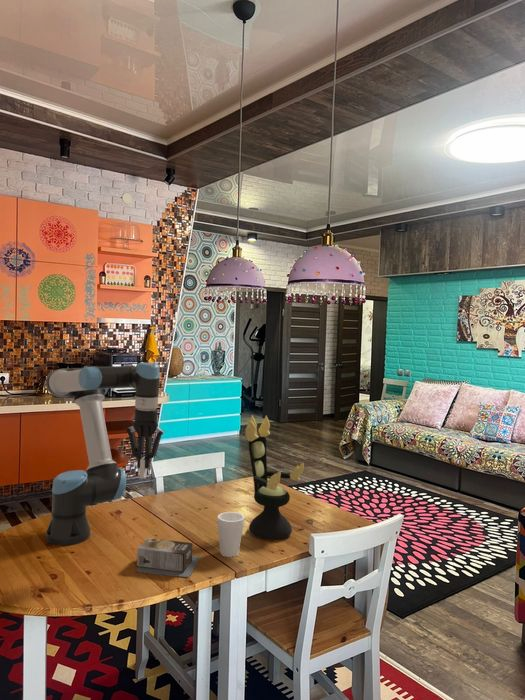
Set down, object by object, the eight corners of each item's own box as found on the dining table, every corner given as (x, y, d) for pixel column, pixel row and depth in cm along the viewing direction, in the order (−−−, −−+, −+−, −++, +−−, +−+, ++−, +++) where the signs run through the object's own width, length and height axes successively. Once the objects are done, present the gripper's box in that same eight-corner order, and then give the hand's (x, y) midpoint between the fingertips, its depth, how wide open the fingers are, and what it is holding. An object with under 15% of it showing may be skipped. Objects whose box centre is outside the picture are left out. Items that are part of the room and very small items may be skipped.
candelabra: (277, 547, 189) (282, 424, 187) (227, 532, 201) (232, 416, 199) (301, 531, 205) (307, 418, 203) (254, 518, 217) (259, 411, 215)
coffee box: (148, 536, 177) (193, 542, 174) (147, 555, 177) (192, 560, 175) (137, 547, 168) (184, 553, 165) (136, 567, 168) (184, 573, 165)
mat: (135, 572, 165) (135, 571, 165) (151, 552, 180) (151, 551, 180) (189, 577, 163) (189, 577, 163) (200, 557, 178) (200, 556, 178)
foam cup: (210, 552, 183) (212, 515, 182) (230, 545, 189) (232, 510, 189) (228, 561, 176) (229, 523, 175) (248, 554, 182) (249, 517, 182)
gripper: (123, 408, 172) (120, 478, 174) (161, 412, 171) (157, 482, 172) (132, 405, 180) (129, 472, 181) (168, 408, 178) (165, 476, 179)
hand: (143, 477), depth 177 cm, fingers closed
